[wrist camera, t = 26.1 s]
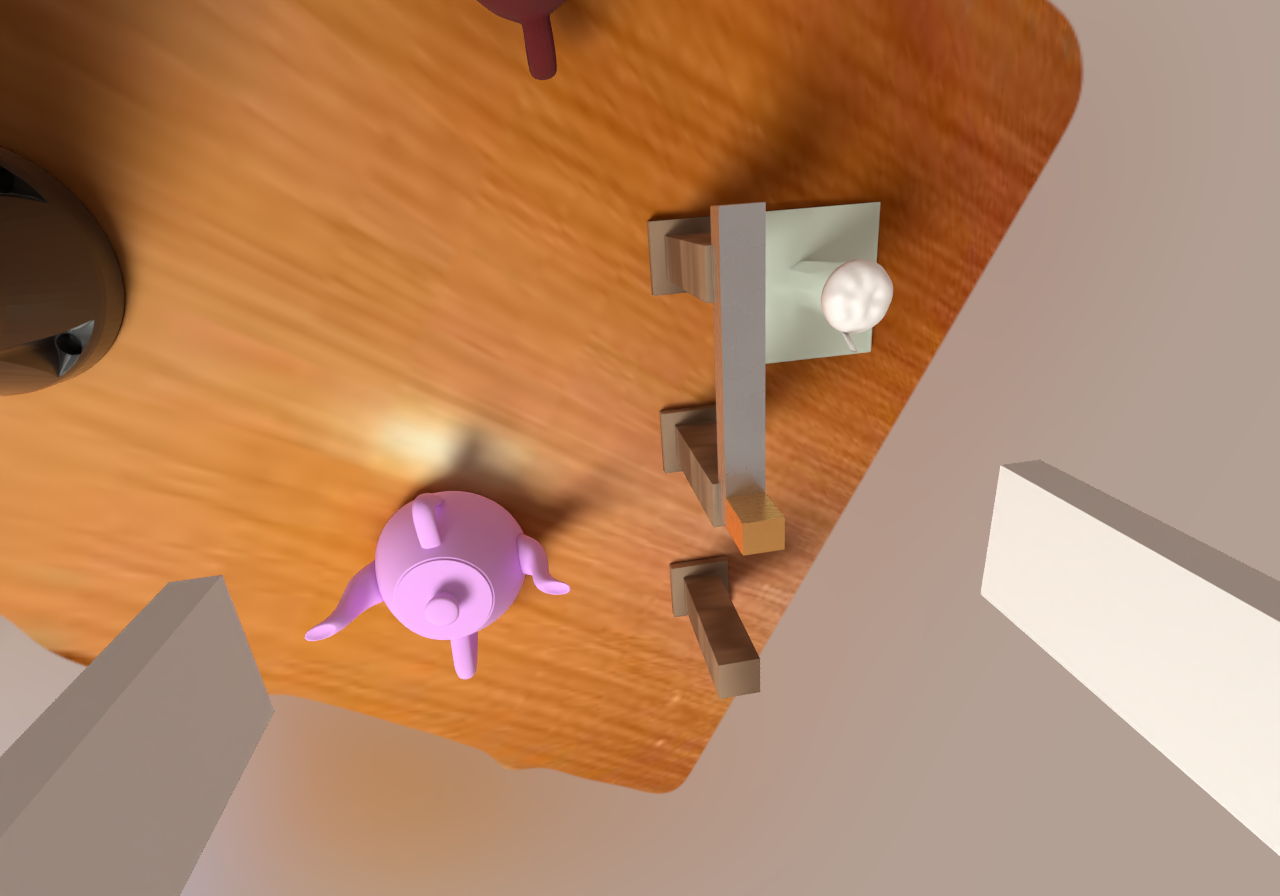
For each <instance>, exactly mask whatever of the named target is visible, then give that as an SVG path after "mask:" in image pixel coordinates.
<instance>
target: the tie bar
mask: <svg viewBox="0 0 1280 896" xmlns="http://www.w3.org/2000/svg"><path fill="white" fill-rule="evenodd" d="M710 218H711V251H712V285H713V319H714V353H715V387H716V420H717V454H718V488H719V516H720V518H721V519H722V521H723V523H724V524H725V526H726V528H727V530H728V531H729V533H730V535H731V536H732V538H733V540H734V541H735V543H736V545H737V547H738V548H739V550H740V552H741V553H742V555H743V556H744V555H751V554H757V553H764V552H771V551H777V550H784V549H785V517H784V516H783V514H782V513H781V512H780V511H779V509H778V508H777V507H776V505H775V504H774V503H773V502H772V500H771V499H770V498H769V497H768V495H767V494H766V493H765V306H766V202H752V203H740V204H727V205H715V206H710Z"/></svg>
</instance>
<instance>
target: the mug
mask: <svg viewBox="0 0 1280 896" xmlns="http://www.w3.org/2000/svg"><path fill="white" fill-rule="evenodd" d="M477 1H478V2H480V3H481V4H482V5H483V6H485V7H486V8H487V9H488V10H490V11H491V12H493V13H495V14H496V15H498V16H500V17H503V18H505V19H508V20H511V21H514V22H517V23H520V24H522V27H523V32H524V39H525V46H526V53H527V60H528V65H529V69H530V72H531V75H532V76H533V77H534V78H535V79H538V80H546V79H550V78H552V77H553V76H554V75H555V73H556V70H557V65H556V54H555V46H554V40H553V33H552V28H551V22H550V14H551V13H552V12H553V11H554V10H555V9H556V8H558V7H559V6H560V5H561V4H562V3H563V2H565V1H566V0H477Z"/></svg>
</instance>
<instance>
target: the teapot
mask: <svg viewBox="0 0 1280 896" xmlns="http://www.w3.org/2000/svg"><path fill="white" fill-rule="evenodd" d="M526 574H528V575H532V576H533V581H534V584H535V585H536V587H537V588H538V589H540V590H541V591H543V592H545V593H548V594H556V595H558V594H565V593H568V592H569V591H570V587H569V586H568V585H567V584H565V583H564V582H561V581H559V580H556V579H554V578H553V577H552V576H551V575H550V573H549V568H548V560H547V555H546V553H545V551H544V548H543V547H542V546H541V544H540V543H539V542H538V541H536V540H535V539H533V538H531V537H529V536H526V535H524V534H523V531H522V529H521V527H520V526H519V524H518V523H517V521H516V520H515V519H514V518H513V517H512V515H511V514H510V513H509V512H508V511H507V510H505V509H504V508H503V507H502V506H500V505H499V504H497V503H496V502H494V501H492V500H490V499H488V498H486V497H484V496H481V495H478V494H474V493H470V492H463V491H443V492H436V493H424V494H420V495H419V496H417V497H416V498H415V500H413V501H411V502H409V503H407V504H406V505H404V506H403V507H402V508H400V509H399V510H398V511H397V512H396V513H395V514H394V515H393V516H392V517H391V518H390V519H389V521H388V522H387V523H386V525H385V527H384V528H383V530H382V533H381V535H380V538H379V540H378V544H377V548H376V555H375V560H374V561H373V562H371V563H370V564H368V565H367V566H366V567H364V568H363V569H362V570H360V571H359V572H358V573H357V574H356V575H355V576H354V577H353V578H352V579H351V580H350V582H349V583H348V585H347V587H346V589H345V591H344V593H343V596H342V598H341V600H340V602H339V604H338V606H337V607H336V609H335V610H334V611H333V613H332V614H331V615H330V616H329V617H328V618H327V619H326V620H324V621H323V622H321V623H319V624H318V625H316V626H315V627H313V628H312V629H310V630H309V631H308V632H307V633H306V635H305V639H306V640H308V641H317V640H321V639H324V638H327V637H330V636H332V635H334V634H335V633H337V632H339V631H340V630H342V629H343V628H344V627H346V626H347V625H348V624H349V623H351V622H352V621H353V620H354V619H355V618H356V617H357V616H358V615H359V614H361V613H362V612H363V611H365V610H366V609H368V608H370V607H372V606H373V605H376V604H378V603H380V602H383V601H385V603H386V605H387V606H388V608H389V609H390V611H391V612H392V613H393V614H394V616H395V617H396V618H397V619H398V620H399V621H400V622H401V623H402V624H403V625H404V626H406V627H407V628H408V629H410V630H411V631H413V632H415V633H417V634H419V635H421V636H424V637H427V638H431V639H438V640H450V639H451V645H452V653H453V659H454V665H455V670H456V673H457V675H458V676H459V677H460V678H462V679H469V678H471V677H473V675H474V674H475V672H476V667H477V646H478V631H479V630H481V629H483V628H485V627H487V626H488V625H490V624H491V623H493V622H494V621H495V620H497V619H498V618H499V617H500V616H501V615H502V614H504V612H505V611H506V610H507V609H508V608H509V607H510V606H511V604H512V603H513V602H514V600H515V599H516V597H517V595H518V593H519V591H520V589H521V587H522V585H523V582H524V579H525V576H526Z"/></svg>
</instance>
